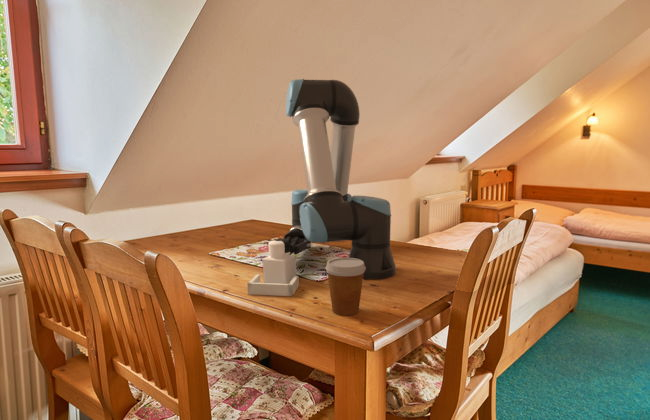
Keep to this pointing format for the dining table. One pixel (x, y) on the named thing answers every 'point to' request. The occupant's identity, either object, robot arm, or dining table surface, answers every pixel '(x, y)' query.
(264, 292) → the pocket
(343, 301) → the disposable coffee cup
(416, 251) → the dining table surface
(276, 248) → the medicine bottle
